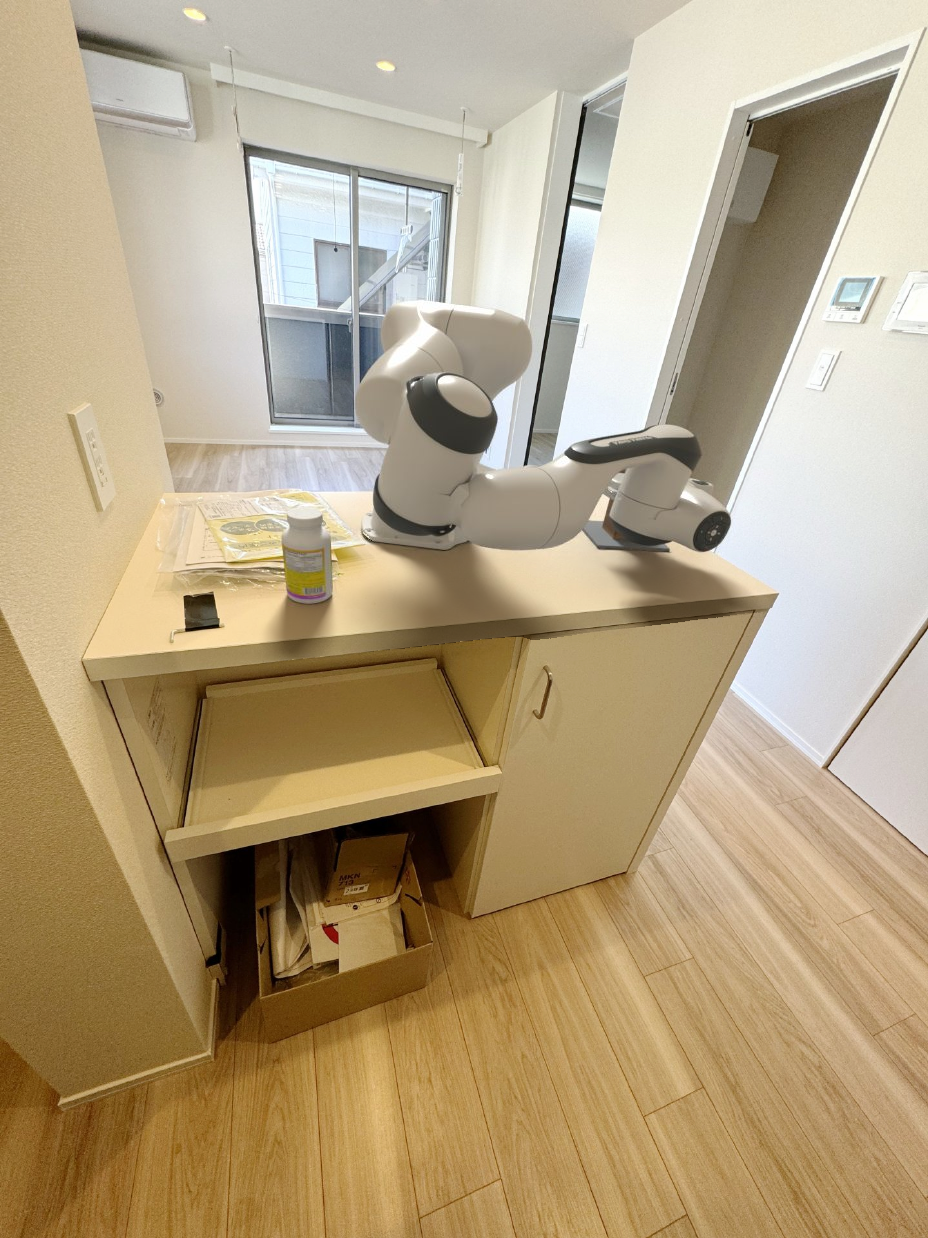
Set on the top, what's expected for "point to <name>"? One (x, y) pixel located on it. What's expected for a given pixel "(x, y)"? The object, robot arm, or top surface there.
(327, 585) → the supplement bottle
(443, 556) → the top surface
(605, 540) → the mat
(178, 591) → the top surface
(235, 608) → the top surface
